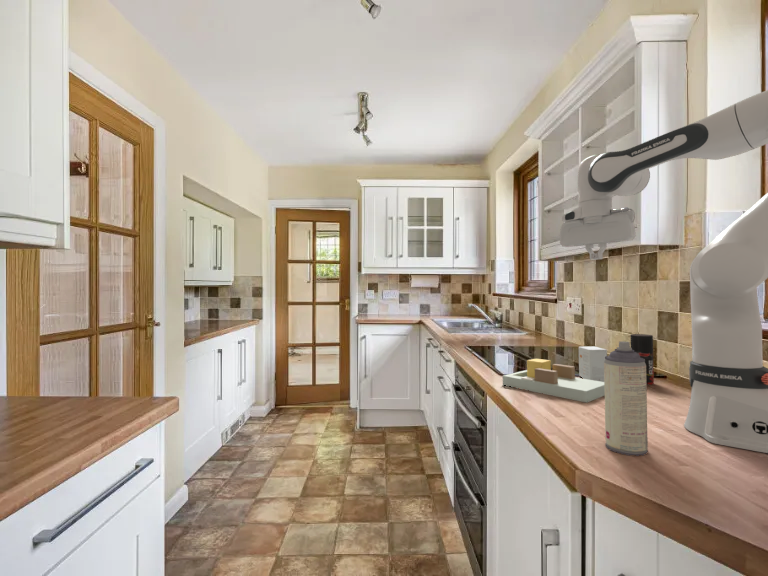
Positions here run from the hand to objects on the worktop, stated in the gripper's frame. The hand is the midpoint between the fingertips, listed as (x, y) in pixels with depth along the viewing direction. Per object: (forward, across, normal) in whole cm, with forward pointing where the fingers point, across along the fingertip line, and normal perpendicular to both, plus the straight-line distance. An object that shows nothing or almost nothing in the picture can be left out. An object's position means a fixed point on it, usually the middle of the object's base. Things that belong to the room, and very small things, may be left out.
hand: (596, 259), depth 118 cm
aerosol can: (+39, -22, +40) cm, 60 cm away
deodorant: (+39, -4, -20) cm, 44 cm away
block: (+35, +15, +8) cm, 39 cm away
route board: (+38, +10, +8) cm, 40 cm away
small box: (+39, +8, -13) cm, 42 cm away
